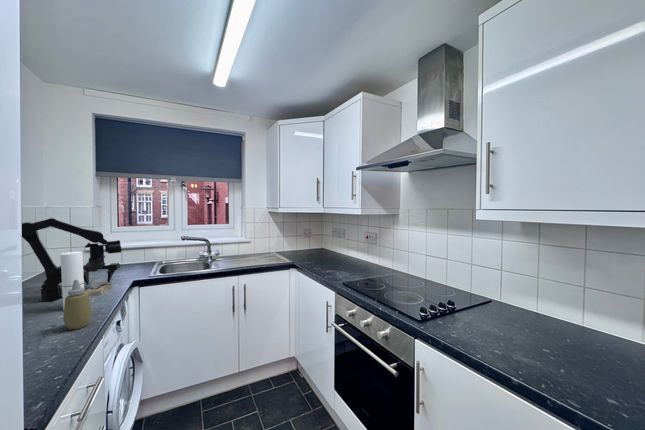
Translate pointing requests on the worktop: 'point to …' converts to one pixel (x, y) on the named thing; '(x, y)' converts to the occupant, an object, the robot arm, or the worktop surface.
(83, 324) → the squeeze bottle
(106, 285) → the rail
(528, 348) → the worktop surface
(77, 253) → the cylindrical container
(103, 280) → the clip
